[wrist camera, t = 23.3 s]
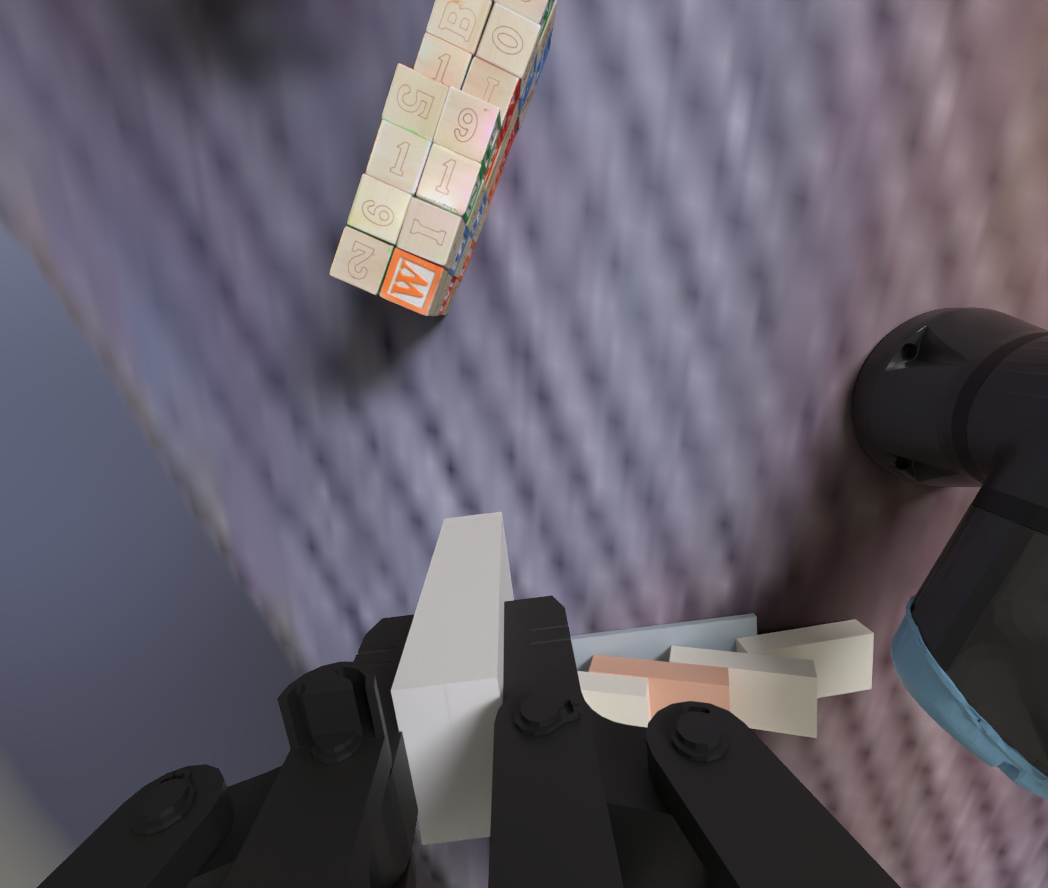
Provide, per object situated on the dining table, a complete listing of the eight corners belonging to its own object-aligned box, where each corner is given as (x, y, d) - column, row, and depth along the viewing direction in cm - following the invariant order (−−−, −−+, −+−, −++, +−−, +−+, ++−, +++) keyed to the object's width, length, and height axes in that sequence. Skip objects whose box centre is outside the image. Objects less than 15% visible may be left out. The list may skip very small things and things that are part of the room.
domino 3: (671, 645, 51) (813, 659, 47) (675, 699, 52) (812, 717, 48) (669, 661, 49) (817, 677, 45) (672, 716, 50) (816, 738, 46)
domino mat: (753, 613, 51) (756, 616, 51) (755, 702, 53) (758, 706, 53) (391, 658, 51) (390, 662, 50) (409, 745, 53) (407, 750, 53)
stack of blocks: (473, 8, 39) (458, -129, 27) (551, 47, 40) (570, -69, 28) (375, 287, 43) (325, 275, 31) (447, 318, 44) (425, 318, 32)
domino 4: (736, 638, 51) (855, 619, 52) (737, 692, 52) (854, 672, 53) (748, 653, 49) (873, 633, 49) (749, 709, 50) (871, 689, 51)
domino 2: (593, 654, 51) (728, 667, 47) (598, 708, 52) (729, 725, 48) (588, 670, 49) (729, 686, 45) (594, 726, 50) (730, 745, 46)
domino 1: (520, 664, 51) (648, 678, 47) (527, 718, 52) (652, 735, 48) (511, 681, 49) (645, 697, 45) (519, 736, 50) (649, 756, 46)
